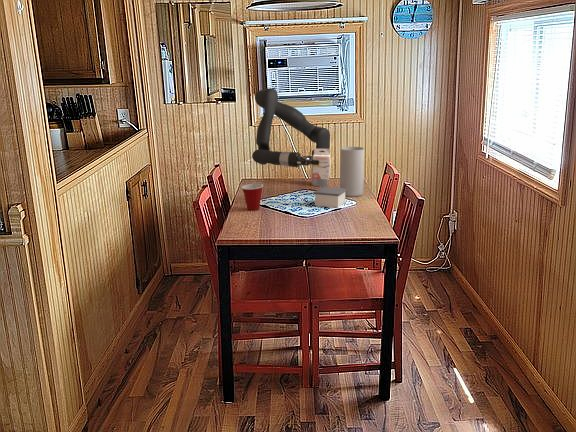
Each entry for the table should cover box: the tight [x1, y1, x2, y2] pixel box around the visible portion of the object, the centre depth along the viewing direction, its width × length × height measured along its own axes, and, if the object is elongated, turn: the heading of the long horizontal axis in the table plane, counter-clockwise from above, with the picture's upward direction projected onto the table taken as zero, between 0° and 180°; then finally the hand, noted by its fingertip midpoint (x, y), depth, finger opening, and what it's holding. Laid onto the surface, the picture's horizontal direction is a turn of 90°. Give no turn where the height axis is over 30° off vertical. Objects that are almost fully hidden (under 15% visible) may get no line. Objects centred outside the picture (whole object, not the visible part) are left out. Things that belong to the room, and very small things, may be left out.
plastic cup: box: [240, 183, 264, 212], centre depth 289 cm, size 11×11×12 cm
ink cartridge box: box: [311, 148, 331, 180], centre depth 296 cm, size 9×5×15 cm, turn 84°
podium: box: [313, 186, 347, 209], centre depth 299 cm, size 13×13×7 cm
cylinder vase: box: [339, 146, 365, 198], centre depth 317 cm, size 12×12×25 cm
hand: (321, 161), depth 296 cm, fingers closed on ink cartridge box, 6 cm apart
